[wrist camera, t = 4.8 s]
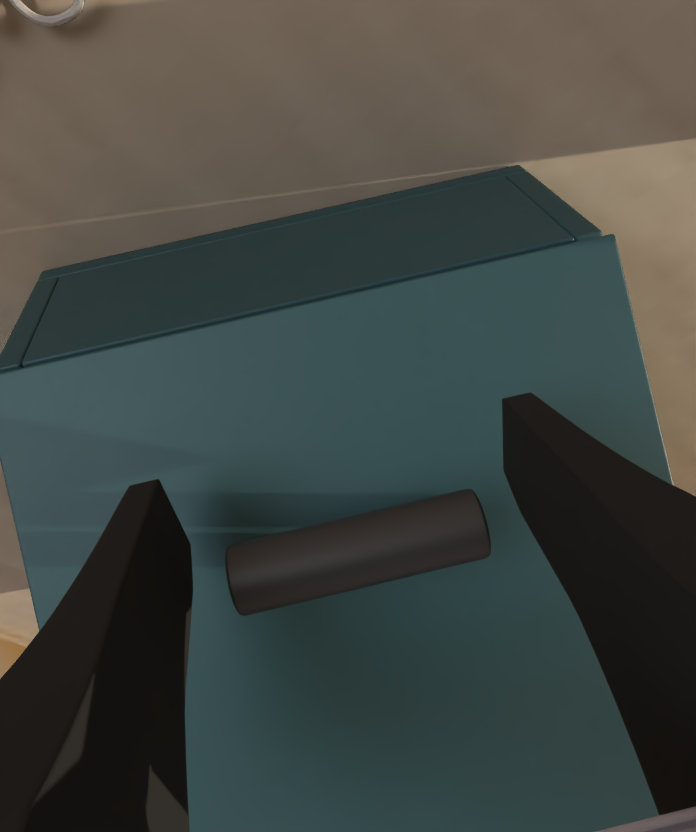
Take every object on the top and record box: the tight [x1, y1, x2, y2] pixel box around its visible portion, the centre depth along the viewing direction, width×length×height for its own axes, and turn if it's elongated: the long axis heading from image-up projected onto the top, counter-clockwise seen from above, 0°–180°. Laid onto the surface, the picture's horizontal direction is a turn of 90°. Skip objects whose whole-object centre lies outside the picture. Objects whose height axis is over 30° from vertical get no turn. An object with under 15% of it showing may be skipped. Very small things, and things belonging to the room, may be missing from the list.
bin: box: [0, 165, 602, 373], centre depth 23 cm, size 14×15×6 cm
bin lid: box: [0, 234, 674, 832], centre depth 14 cm, size 15×15×4 cm
